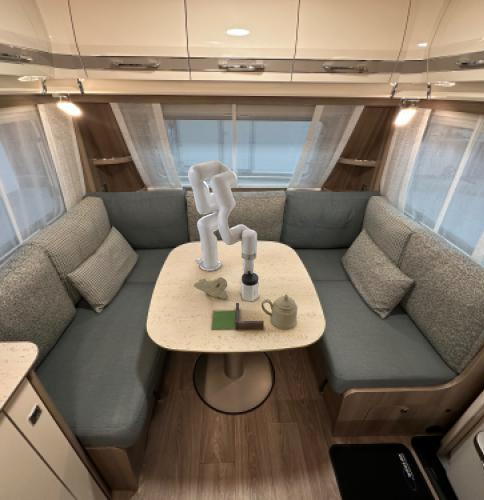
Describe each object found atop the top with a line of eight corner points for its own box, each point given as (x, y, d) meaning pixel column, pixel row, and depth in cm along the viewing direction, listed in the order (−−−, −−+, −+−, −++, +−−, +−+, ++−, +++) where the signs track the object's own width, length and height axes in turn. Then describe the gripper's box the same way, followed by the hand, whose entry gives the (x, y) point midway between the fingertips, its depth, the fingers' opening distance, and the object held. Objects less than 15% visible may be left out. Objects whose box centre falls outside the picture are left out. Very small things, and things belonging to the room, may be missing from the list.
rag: (211, 329, 117) (211, 328, 116) (213, 311, 126) (213, 311, 126) (234, 329, 117) (234, 328, 116) (234, 311, 126) (234, 310, 126)
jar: (248, 303, 131) (249, 284, 124) (237, 295, 136) (237, 276, 130) (261, 295, 136) (262, 276, 130) (250, 288, 141) (250, 269, 135)
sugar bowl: (269, 334, 114) (271, 307, 106) (259, 316, 123) (260, 291, 116) (300, 326, 118) (304, 300, 110) (288, 309, 127) (291, 284, 119)
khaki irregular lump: (233, 294, 140) (218, 270, 142) (235, 292, 133) (218, 267, 135) (208, 310, 136) (193, 285, 139) (208, 309, 129) (192, 283, 132)
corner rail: (235, 330, 116) (235, 323, 114) (236, 309, 127) (235, 302, 125) (263, 329, 116) (263, 323, 114) (261, 309, 127) (261, 302, 125)
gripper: (241, 246, 138) (240, 275, 148) (241, 262, 125) (241, 292, 135) (255, 246, 138) (254, 275, 148) (257, 262, 125) (256, 292, 135)
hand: (248, 283), depth 141 cm, fingers closed
